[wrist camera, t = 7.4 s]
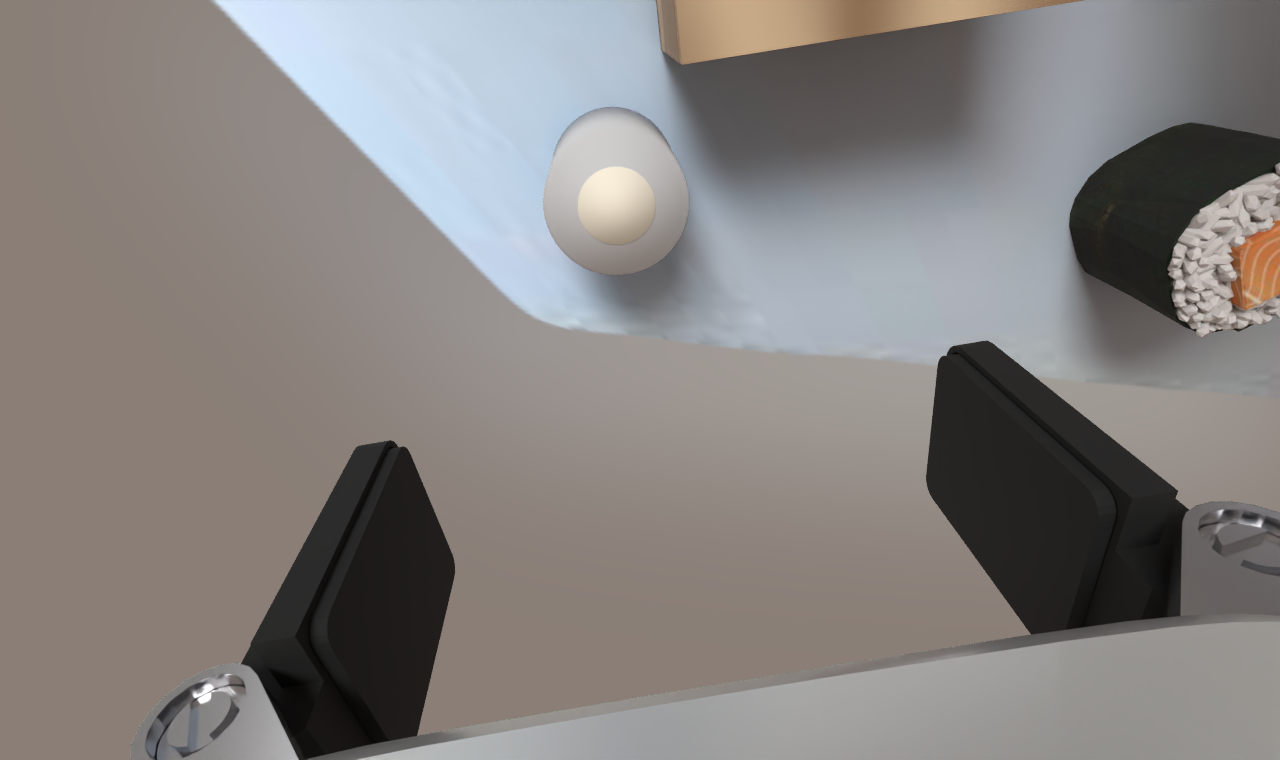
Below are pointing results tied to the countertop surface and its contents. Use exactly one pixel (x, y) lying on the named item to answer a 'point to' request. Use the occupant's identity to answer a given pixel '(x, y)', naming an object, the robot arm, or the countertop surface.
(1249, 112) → the countertop surface
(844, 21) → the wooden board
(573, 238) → the cream-capped white cylinder
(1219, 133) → the sushi
